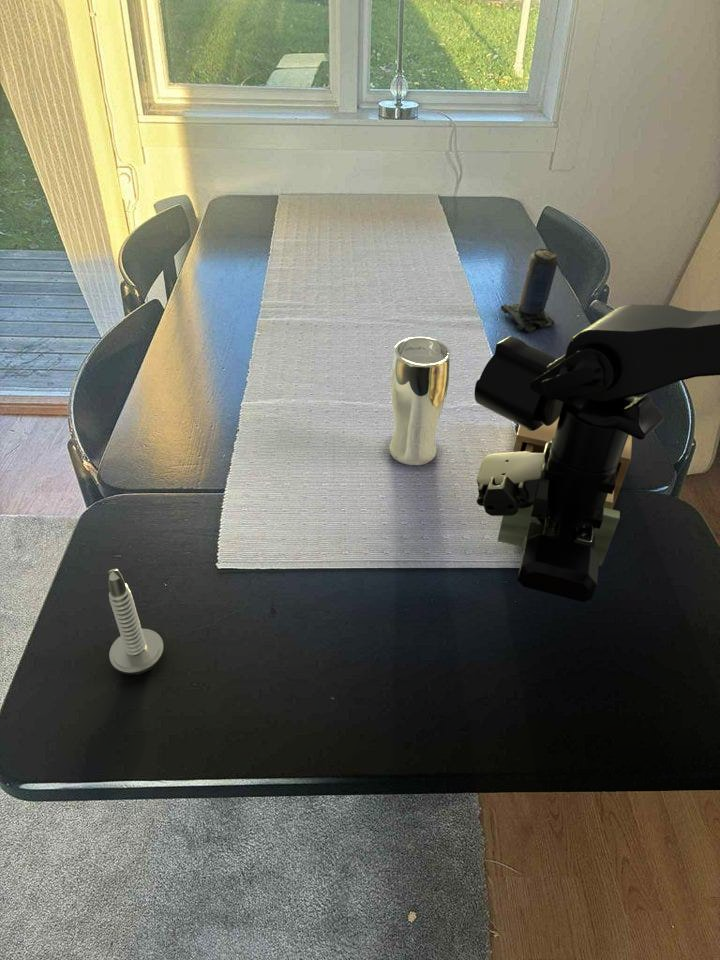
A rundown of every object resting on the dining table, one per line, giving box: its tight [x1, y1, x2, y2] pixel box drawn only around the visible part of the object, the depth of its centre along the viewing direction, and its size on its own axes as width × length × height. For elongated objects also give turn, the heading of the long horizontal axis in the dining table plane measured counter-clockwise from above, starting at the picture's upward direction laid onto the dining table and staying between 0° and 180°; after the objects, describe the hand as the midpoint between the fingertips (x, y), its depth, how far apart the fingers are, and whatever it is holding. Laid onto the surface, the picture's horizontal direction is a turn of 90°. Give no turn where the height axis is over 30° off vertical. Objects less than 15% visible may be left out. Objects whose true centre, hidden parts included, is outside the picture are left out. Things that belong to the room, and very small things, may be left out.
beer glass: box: [389, 336, 452, 466], centre depth 87 cm, size 7×7×15 cm
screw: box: [107, 568, 165, 676], centre depth 62 cm, size 13×5×5 cm
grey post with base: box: [500, 248, 559, 333], centre depth 116 cm, size 9×8×12 cm
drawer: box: [497, 443, 621, 567], centre depth 78 cm, size 18×11×7 cm, turn 162°
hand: (547, 573), depth 70 cm, fingers closed
